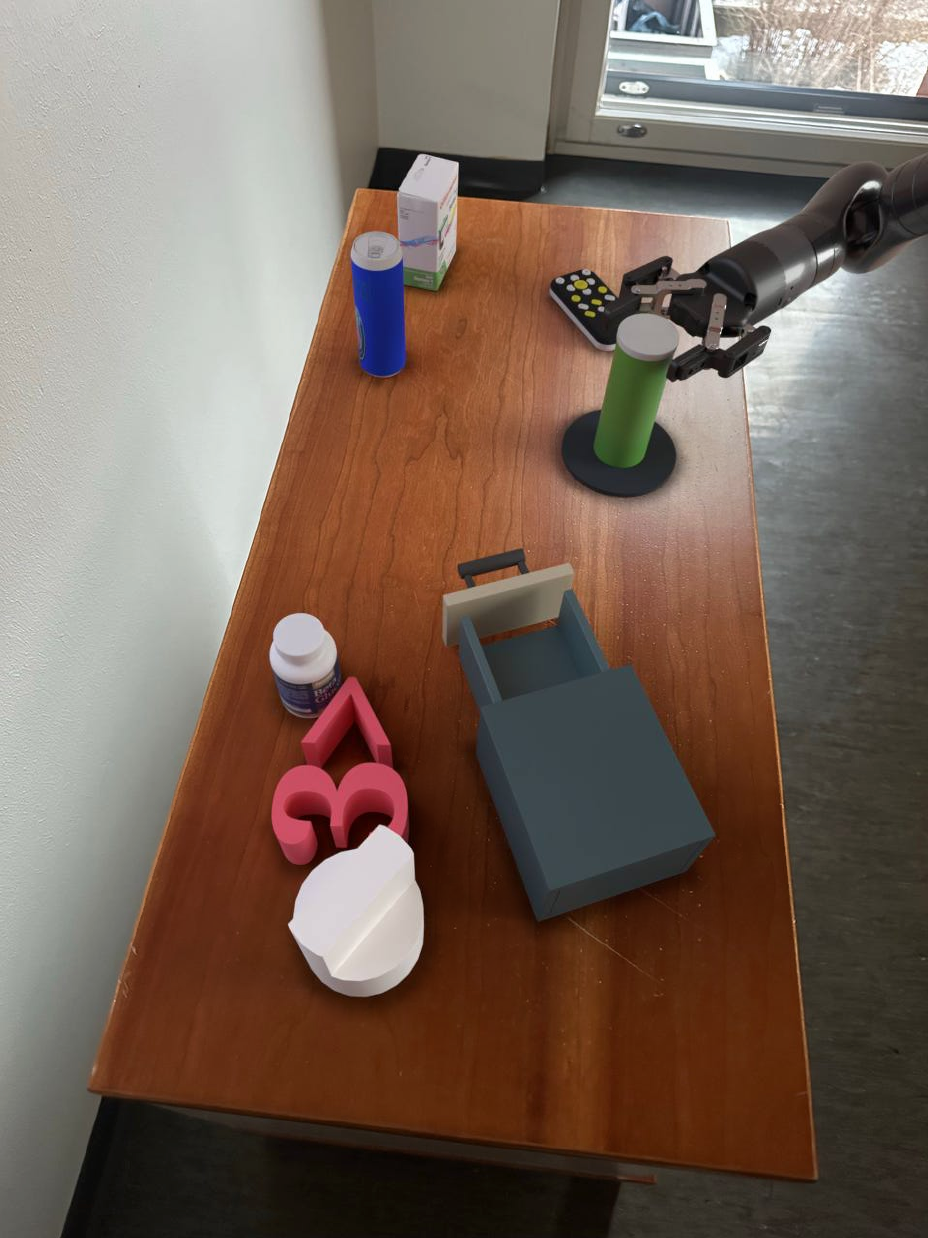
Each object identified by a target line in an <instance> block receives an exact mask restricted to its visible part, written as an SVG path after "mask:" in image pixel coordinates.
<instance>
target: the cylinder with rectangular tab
mask: <svg viewBox="0 0 928 1238" xmlns="http://www.w3.org/2000/svg"><path fill="white" fill-rule="evenodd" d="M387 827H388V826H386V825H383V824H378V825H377V827H375V828H374V830H373V831H371V832H372V833H371V834H370V836H369V835H368V837H367V838H365V839H364V841H363V842H362V843H361V844H360V845H359V846H358V847H357V848H354V849H350V850H344V851H340V852H338V853H335V854H334V855H332V856H330V857H328V858H325V859H324V860H323V861H322V862H320V863H319V864H318V865H317V866H316V867H315V868H313V869H312V870H311V872H310V873H309V875H307V877H306V878H305V880H304V881H303V882H302V884H301V886H300V888H299V892H298V894H297V896H296V898H295V902H294V907H293V908H294V909H293V916H292V919H291V920H290V922H288V923H287V926H288V928H289V930H290V932H291V934H292V936H293V938H294V939H295V941H296V943H297V945H298V947H299V949H300V950H301V952H302V954H303V956H304V958H305V960H306V961H307V964H308V965H309V968H310V969H311V971H312V972H313V973H314V974H315V975H316V977H317V978H318V979H319V980H320V982H321V983H323V984H324V985H325V986H327V987H328V988H329V989H331V990H332V991H334V992H337V993H338V994H339V993H340V994H342V995H345V996H347V997H356V998H357V997H358V998H368V997H372V996H375V995H380V994H384V993H385V992H388V991H389V990H391V989H393V988H395V987H396V986H398V985H399V984H400V983H401V982H402V981H403V980H404V979H405V978H407V976H408V975H410V973H411V971H412V970H413V968H414V967H415V965H416V963H417V962H418V960H419V957H420V954H421V951H422V948H423V945H424V934H425V933H424V931H425V923H424V922H425V920H424V919H425V916H424V915H425V914H424V903H423V898H422V893H421V889H420V887H419V885H418V883H417V881H416V873H415V872H416V871H415V853H414V851H413V849H412V848H411V846H410V845H409V844H407V843H406V842H405V841H404V840H403V839H402V838H401V837H400V836H399V835H398V834H396V833H395V832H393V831H392V830H390V829H389V828H387Z"/></svg>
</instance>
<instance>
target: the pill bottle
mask: <svg viewBox="0 0 928 1238" xmlns="http://www.w3.org/2000/svg"><path fill="white" fill-rule="evenodd" d="M272 639H273V640H272V643H271V645H270V649H269V663H270V666H271V670H272V674H273V677H274V680H275V683H276V687H277V690H278V694H279V697H280V700H281V702H282V704H283V706H284V707H285V709H286V710H287V711H288V712H289V713H290V714H292V715H293V716H296V717H298V718H303V719H318V718H319V717H320V716H321V714H322V713H323V711H324V710H325V709H326V707H327V706H328V705H329V703H330V702H331V701H332V699H333V698H334V696H335V695H336V694H337V692H338V691H339V690H340V688H341V687H342V686H343V680H342V673H341V668H340V662H339V656H338V655H339V654H338V650H337V646H336V642H335V640H334V638H333V636H332V635H331V634H330V633H329V631H327V629H325V628H324V625H323V623H322V622H321V621H320V620H319V619H318V618H317V617H315V616H314V615H312V614H309V613H304V612H297V613H293V614H289V615H287V616H285V617H283V618H282V619H281V620H280V621H279V622H278V623H277V624H276V626H275V627H274V630H273V633H272Z"/></svg>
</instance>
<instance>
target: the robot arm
mask: <svg viewBox="0 0 928 1238" xmlns="http://www.w3.org/2000/svg"><path fill="white" fill-rule="evenodd" d="M927 236H928V152H926V153H924V154H920V155H919V156H917V157H914V158H912V159H910V160H909V159H908V160H907V161H905V162H903V163H900V164H899V165H898V166H896V167H894V169H892V170H891V171H890V173H888V171H887V170H886V168H885V167H884V166H883V165H881V164H880V163H877V162H875V161H859V162H855V163H852V164H850V165H847V166H846V167H844V168H842V169H841V170H839V171H838V172H837V173H835V174H834V175H832V176H831V177H830V178H829V179H828V180H827V181H826V182H825V183H824V184H823V185H822V186H821V187H820V188H819V189H818V191H816V193H815V194H814V195H813V196H812V197H811V198H810V200H809V201H808V203H807V204H805V206H804V207H803V208H802V209H801V210H800V211H799V212H798V213H796V214H794V215H793V216H791V217H790V218H788V219H787V220H784V221H783V222H780V223H779V224H777V225H775V226H774V227H771V228H768V229H764V230H762V231H759V232H757V233H755V234H753V235H751V236H749V237H748V238H745V239H744V240H742V241H740V242H738V243H737V244H735V245H733V246H730V247H729V248H727V249H725V250H723V251H721V252H720V253H718V254H716V255H714V256H712V257H711V258H709V259H707V260H706V261H705V262H704V263H703V264H702V265H701V266H700V267H699V268H698V269H696V270H695V271H694V272H687V273H682V274H681V273H679V272H678V271H677V270H675V268H673V262H674V259H673V258H672V257H671V256H670V255H663V256H660V257H658V258H656V259H654V260H652V261H649V262H647V263H645V264H642V265H641V266H639V267H636V268H634V269H631V270H630V271H627V272H625V273H624V274H622V279H621V283H620V288H619V293H618V298H617V299H615V300H614V301H612V302H610V303H608V304H607V305H606V306H605V307H604V312H603V317H602V322H601V327H603V328H604V329H605V330H606V331H609V330H611V329H613V328H614V327H616V326H618V325H620V323H621V322H622V321H623V320H624V319H626V318H627V317H629V316H632V315H635V314H654V315H658V316H661V317H663V318H665V319H667V320H669V321H670V322H671V323H672V324H674V325H676V326H679V327H681V328H682V329H683V330H684V331H685V332H686V333H687V334H688V335H689V336H690V337H692V338H695V337H697V338H701V342H700V343H701V344H700V343H698V344H696V345H695V346H693V347H692V348H690V349H688V350H686V351H684V352H682V353H681V354H679V355H678V356H676V357H673V360H672V361H671V362H670V364H669V367H668V371H667V374H666V378H667V381H670V382H671V383H675V382H676V381H679V382H682V381H687V380H688V379H690V378H691V377H693V376H695V375H697V374H698V373H700V372H702V371H709V370H714V371H717V376H719V377H720V378H722V379H730V378H731V377H732V376H733V375H735V374H736V373H737V372H739V371H740V370H742V369H744V368H745V367H746V366H747V365H749V364H750V363H751V362H754V360H756V359H757V358H759V357H760V356H762V354H763V353H764V351H765V348H766V345H767V344H768V341H769V339H770V336H771V333H772V328H771V327H770V326H768V325H759V326H758V327H755V325H757V324H759V323H761V322H762V321H764V320H765V319H767V318H768V317H771V316H772V315H773V314H775V313H777V312H778V311H781V310H783V309H784V308H786V307H787V306H789V305H790V304H791V303H793V302H794V301H795V300H797V299H798V298H799V297H800V296H801V295H803V294H804V293H805V292H806V293H807V291H809V290H811V289H813V288H814V287H816V286H817V285H819V284H821V283H823V282H825V281H826V280H828V279H829V278H831V277H832V276H833V275H835V274H836V273H837V272H838V271H839V270H840V269H842V271H845V272H846V273H849V274H854V275H863V274H868V273H870V272H873V271H875V270H878V269H880V268H881V267H883V266H884V265H886V264H888V263H889V262H890V261H892V260H893V259H894V258H896V257H897V256H899V255H900V254H901V253H902V252H903V251H904V250H906V248H908V247H909V246H910V245H912V244H913V243H914V242H916V241H918V240H920V239H922V238H924V237H927ZM668 295H670V299H669V304H668V306H663V304H664V301H665V298H666V296H668ZM645 298H646V299H647V298H649V299H652V300H651V301H650V302H642V301H643V299H645ZM738 337H740V339H739V340H738V341H736V342H735V343H733V344H732V345H730V346H729V347H728V348H726V349H723V348H721V347H720V340H721V339H735V338H738Z"/></svg>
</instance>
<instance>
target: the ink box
mask: <svg viewBox="0 0 928 1238" xmlns="http://www.w3.org/2000/svg"><path fill="white" fill-rule="evenodd" d="M459 164H460V163H459V162H458V161H453V160H449V159H445V158H442V157H436V156H433V155H429V154H425V153H420V154H418V155H417V157H416V159H415V160H414V161H413V163H412V165H411V167H410V169H409V170H408V172H407V174H406V176H405V178H404V179H403V181H402V183H401V185H400V187H398V192H397V195H396V202H397V207H396V208H397V230H398V241H399V243H400V246H401V249H402V252H403V276H404V286H409V287H414V288H419V289H423V290H427V291H428V290H429V291H434V292H437V291H438V290H439V288H440V286H441V284H442V281H443V280H444V277H445V275H446V273H447V272H448V269H449V267H450V264H451V262H452V260H453V258H454V256H455V253H456V252H457V225H458V224H457V223H458V222H457V221H458V194H459V193H458V191H459V188H458V187H459V167H460V165H459Z"/></svg>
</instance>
